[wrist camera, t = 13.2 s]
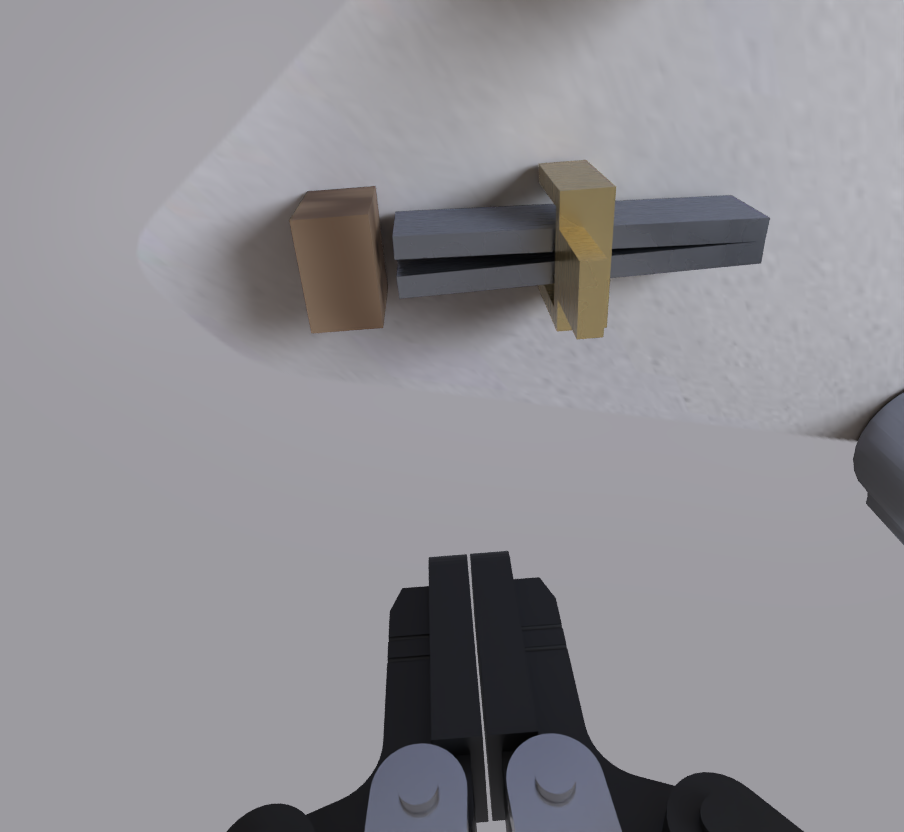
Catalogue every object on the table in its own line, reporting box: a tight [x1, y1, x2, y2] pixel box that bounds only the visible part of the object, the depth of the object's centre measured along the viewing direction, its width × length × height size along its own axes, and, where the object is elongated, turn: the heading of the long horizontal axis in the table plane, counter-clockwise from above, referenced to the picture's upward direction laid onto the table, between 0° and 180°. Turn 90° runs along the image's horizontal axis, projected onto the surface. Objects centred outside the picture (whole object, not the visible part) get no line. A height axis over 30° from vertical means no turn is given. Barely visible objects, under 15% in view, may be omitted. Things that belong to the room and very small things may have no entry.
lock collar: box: [538, 160, 616, 339], centre depth 28 cm, size 2×6×9 cm, turn 4°
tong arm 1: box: [396, 241, 765, 299], centre depth 30 cm, size 16×1×4 cm, turn 95°
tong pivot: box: [289, 186, 388, 333], centre depth 30 cm, size 3×5×5 cm, turn 4°
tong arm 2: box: [392, 195, 770, 260], centre depth 29 cm, size 16×1×4 cm, turn 92°
